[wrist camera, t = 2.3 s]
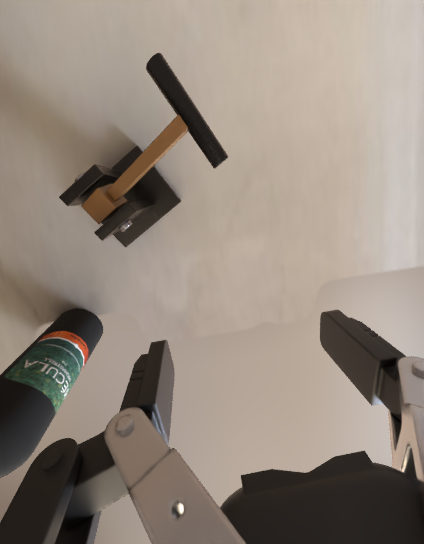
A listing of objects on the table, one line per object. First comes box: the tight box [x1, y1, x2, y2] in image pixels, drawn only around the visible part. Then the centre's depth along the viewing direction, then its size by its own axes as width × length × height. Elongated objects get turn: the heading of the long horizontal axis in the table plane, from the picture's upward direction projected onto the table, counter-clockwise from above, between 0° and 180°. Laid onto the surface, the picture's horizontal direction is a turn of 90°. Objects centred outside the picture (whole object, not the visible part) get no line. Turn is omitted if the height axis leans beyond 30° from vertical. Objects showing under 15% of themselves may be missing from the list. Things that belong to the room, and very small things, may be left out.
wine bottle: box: [0, 309, 103, 478], centre depth 25 cm, size 8×8×30 cm
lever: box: [82, 53, 228, 224], centre depth 20 cm, size 13×8×2 cm, turn 127°
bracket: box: [59, 146, 181, 247], centre depth 27 cm, size 11×9×14 cm
